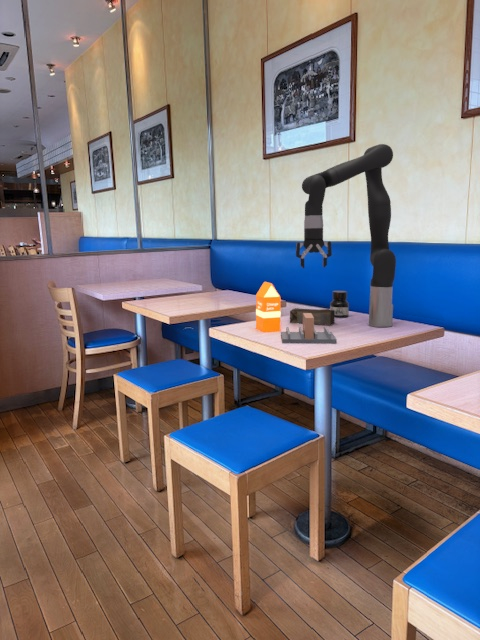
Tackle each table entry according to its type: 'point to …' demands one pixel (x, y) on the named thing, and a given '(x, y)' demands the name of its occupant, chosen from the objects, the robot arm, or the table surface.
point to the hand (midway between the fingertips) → (313, 267)
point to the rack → (299, 338)
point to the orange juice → (268, 309)
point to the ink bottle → (340, 304)
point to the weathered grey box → (319, 316)
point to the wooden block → (308, 326)
